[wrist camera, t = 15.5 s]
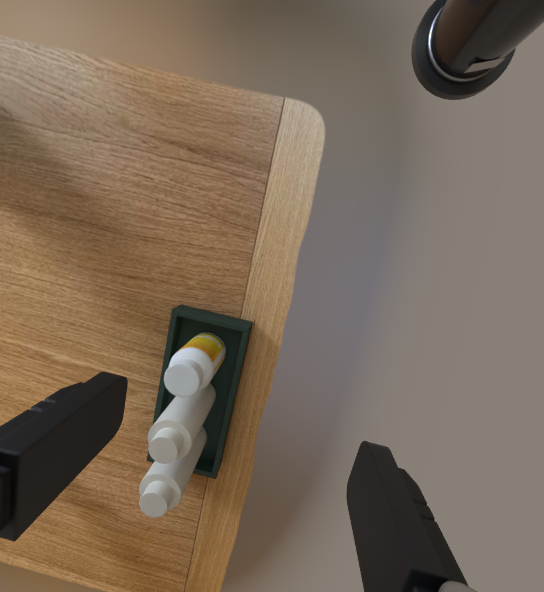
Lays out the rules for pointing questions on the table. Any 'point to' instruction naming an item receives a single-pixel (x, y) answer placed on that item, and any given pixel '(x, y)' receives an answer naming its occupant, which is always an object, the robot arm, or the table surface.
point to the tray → (225, 381)
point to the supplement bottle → (194, 365)
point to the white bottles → (175, 451)
